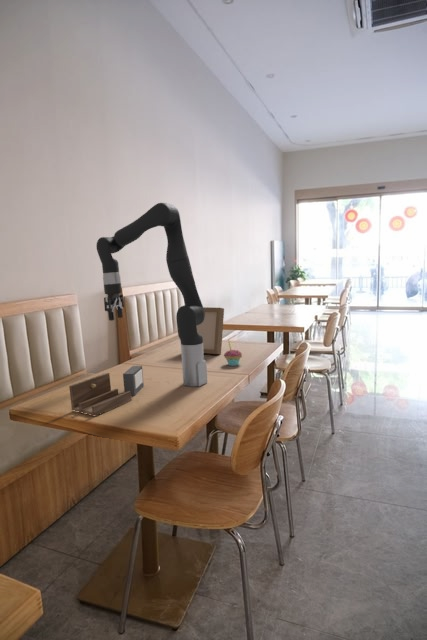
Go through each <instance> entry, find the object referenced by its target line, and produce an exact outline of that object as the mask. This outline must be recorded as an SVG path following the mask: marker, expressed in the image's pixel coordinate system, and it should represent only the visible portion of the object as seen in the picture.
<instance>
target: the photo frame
mask: <svg viewBox="0 0 427 640" xmlns="http://www.w3.org/2000/svg"><path fill="white" fill-rule="evenodd" d="M203 308H204V312H205V318H204V321H203V322H202V323H201V324H199V325H197V326H196V327H197V333H198V334H200V335H202V337H203V351H204V354H211V355H221V354H222V345H223V344H222V343H223V329H224V316H225V315H224V314H225V308H223V307H206V306H205V307H204V306H203Z"/></svg>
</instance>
